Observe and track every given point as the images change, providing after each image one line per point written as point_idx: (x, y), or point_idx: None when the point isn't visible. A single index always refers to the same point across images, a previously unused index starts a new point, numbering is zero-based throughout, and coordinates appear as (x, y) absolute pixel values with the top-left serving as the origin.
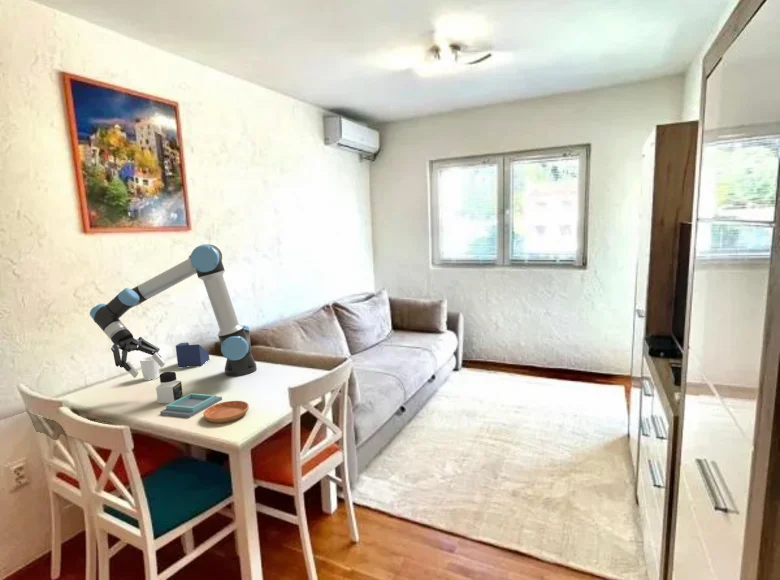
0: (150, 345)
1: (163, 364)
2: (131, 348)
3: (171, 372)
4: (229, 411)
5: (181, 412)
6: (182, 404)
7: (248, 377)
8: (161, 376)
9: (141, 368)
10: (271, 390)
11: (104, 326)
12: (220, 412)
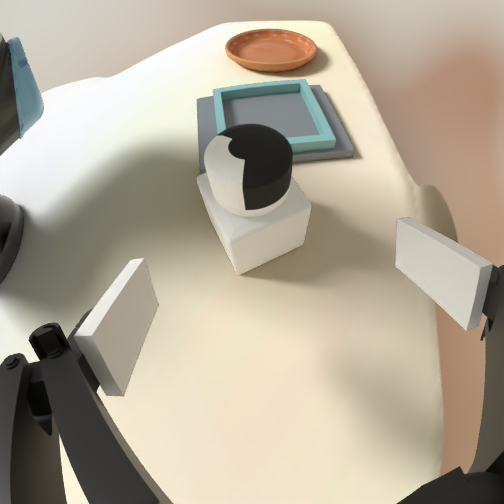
0: (9, 437)
1: (146, 270)
2: (435, 490)
3: (235, 132)
4: (261, 53)
5: (323, 103)
6: (285, 135)
7: (37, 180)
8: (291, 149)
9: None
10: (127, 78)
11: None
12: (272, 60)
